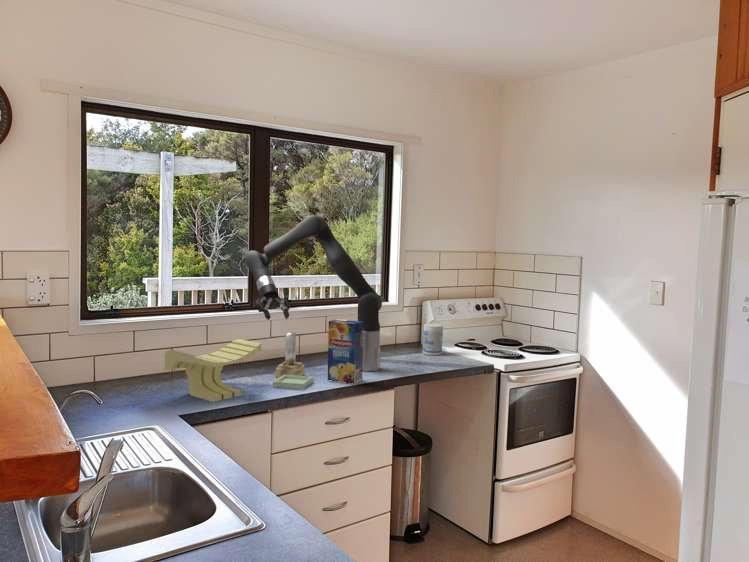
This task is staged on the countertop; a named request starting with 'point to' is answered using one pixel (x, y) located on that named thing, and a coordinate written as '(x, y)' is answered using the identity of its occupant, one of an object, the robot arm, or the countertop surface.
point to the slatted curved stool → (211, 368)
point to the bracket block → (290, 369)
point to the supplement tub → (432, 339)
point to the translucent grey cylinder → (290, 348)
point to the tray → (293, 381)
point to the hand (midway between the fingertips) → (278, 318)
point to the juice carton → (345, 350)
